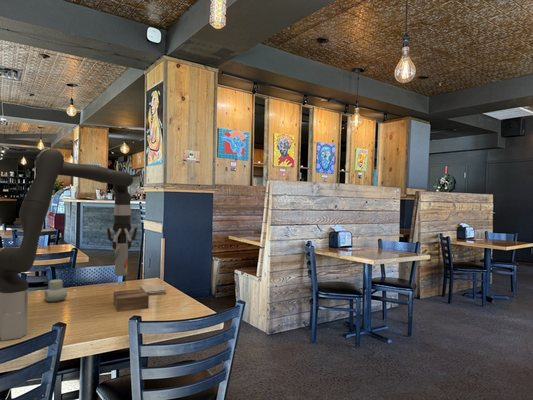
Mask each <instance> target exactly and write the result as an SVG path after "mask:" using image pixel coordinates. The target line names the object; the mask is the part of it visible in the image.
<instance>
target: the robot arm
mask: <svg viewBox="0 0 533 400" xmlns="http://www.w3.org/2000/svg"><path fill="white" fill-rule="evenodd" d="M35 167H36V169H37V171H36V175H35V177H34V179H33V181H32V183H31V185H29V188H28V189H27V191H26V194H24V195H25V196H24V198H23V201H22V203H21V206H20V208H19V212H18V217H19V222H20V224H21V228H22V233H23V234H22V240H21V244H20V246H19V247H11V246H8V247H4V248H2V249H0V341H2V342H3V341H9V340H17V339H21V338H22V337H24V336H25V337H26V335H27V334H28V311H29V310H28V308H29V306H28V305H29V282H28V281H27V280H26V279H24V278H23V277H21V276H20V275H19V274H21V273H22V274H23V273H27V272H29V271H30V270H31V268H32V267H33V266H34V264H35V260H36V258H37V257H36V255H37V251H38V247H39V242H40V241H39V240H40V236H41V234H42V230H43V226H44V223H45V221H46V219H47V218H46V217H47V216H48V215H47V214H48V212H49V209H50V205H51V201H52V197H53V194H54V189H55V186H56V182H57V179H58V177H59V176H64V177H73V178H79V179H84V180H88V181H94V182H99V183H102V184H103V183H104V184H111V185H113V191H114V207H113V226H112V227H107V228H106V234H107V240H109V241H110V242H111V248H112V249H113V250H114V251H115V250H116V243H117V237H118V235H124V234H126V243H128V250H130V249H131V247H132V242H133V241H135V240H136V237H137V233H138V228H137V227H136V226H135V227H133V226H132V225H131V223H132V221H131V219H132V218H131V216H132V214H131V213H132V212H131V211H132V209H131V207H132V206H131V199H132V198H131V194H130V193H129V188H128V187H130V186H132V184H133V182H134V178H133V175H132V174H130V173H129V172H125V171H122V170H116V169H110V168H108V167H103V166H100V165H96V164H88V163H87V164H85V163H74V162H70V161H65V157H64V155H63V153H62V152H61V151H60V150H58V149H55V148H47V149H45V150H43V151H42V152H40V153H39V155H38V157H36V160H35ZM112 231H113V232H114V235H113V237H112ZM130 231H131V232H132V235H130V233H129V232H130Z"/></svg>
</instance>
